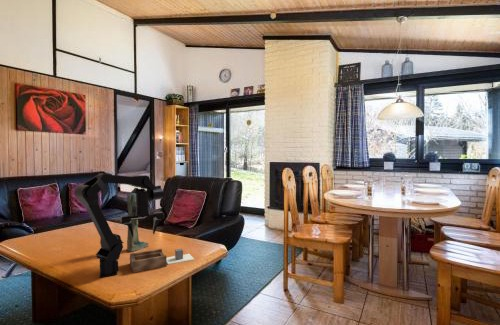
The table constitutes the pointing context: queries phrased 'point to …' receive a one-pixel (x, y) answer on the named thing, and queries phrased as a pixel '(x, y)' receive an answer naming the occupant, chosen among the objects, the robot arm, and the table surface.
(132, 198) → the statue
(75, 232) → the table surface
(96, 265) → the table surface
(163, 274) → the table surface
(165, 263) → the box
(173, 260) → the cover
